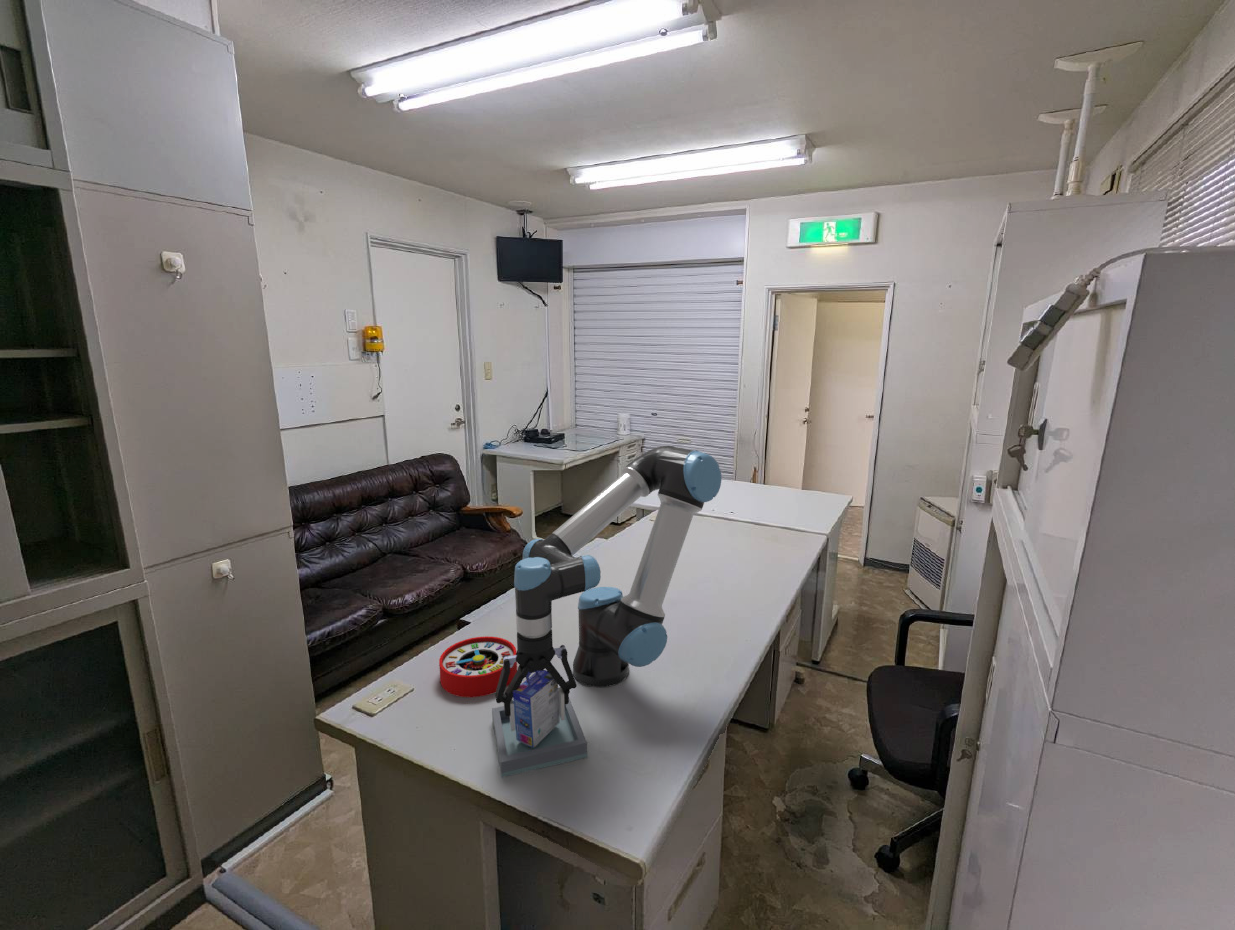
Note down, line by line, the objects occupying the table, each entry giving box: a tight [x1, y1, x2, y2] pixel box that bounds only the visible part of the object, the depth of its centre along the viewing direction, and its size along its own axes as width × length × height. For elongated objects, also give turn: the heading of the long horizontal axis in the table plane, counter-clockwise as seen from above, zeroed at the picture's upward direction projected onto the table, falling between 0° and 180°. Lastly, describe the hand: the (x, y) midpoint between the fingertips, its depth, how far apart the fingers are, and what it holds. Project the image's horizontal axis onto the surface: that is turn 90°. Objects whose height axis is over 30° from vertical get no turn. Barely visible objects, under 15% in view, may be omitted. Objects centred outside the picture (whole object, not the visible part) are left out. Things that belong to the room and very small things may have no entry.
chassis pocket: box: [491, 697, 588, 778], centre depth 122 cm, size 18×18×4 cm
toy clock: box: [438, 635, 518, 698], centre depth 146 cm, size 20×6×20 cm
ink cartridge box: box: [513, 669, 560, 748], centre depth 120 cm, size 10×6×14 cm, turn 150°
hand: (537, 721), depth 121 cm, fingers closed on ink cartridge box, 10 cm apart
